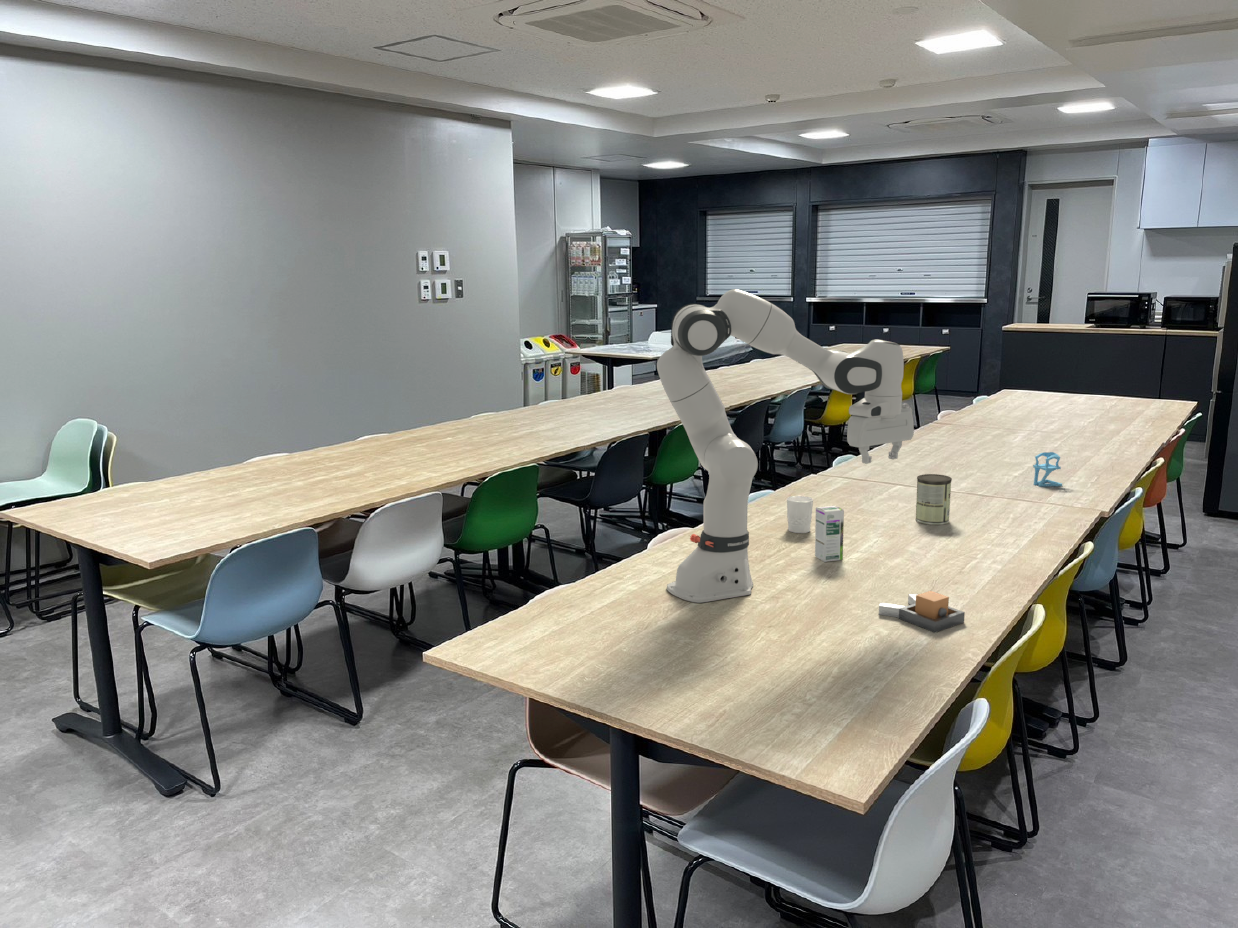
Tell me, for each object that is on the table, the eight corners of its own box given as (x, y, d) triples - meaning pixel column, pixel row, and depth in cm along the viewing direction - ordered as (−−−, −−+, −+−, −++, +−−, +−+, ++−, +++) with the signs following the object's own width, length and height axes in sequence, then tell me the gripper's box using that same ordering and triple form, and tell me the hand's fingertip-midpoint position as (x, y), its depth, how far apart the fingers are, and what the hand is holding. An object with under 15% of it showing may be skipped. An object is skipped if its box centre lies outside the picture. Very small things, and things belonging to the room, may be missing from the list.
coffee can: (911, 516, 291) (913, 473, 288) (944, 516, 290) (947, 473, 287) (919, 525, 281) (921, 481, 278) (953, 525, 280) (955, 481, 277)
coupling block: (935, 628, 201) (937, 602, 200) (911, 618, 207) (913, 594, 205) (950, 623, 204) (951, 597, 202) (926, 614, 209) (927, 589, 208)
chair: (1028, 483, 332) (1030, 451, 329) (1046, 481, 334) (1049, 449, 332) (1043, 488, 325) (1046, 455, 322) (1062, 486, 327) (1065, 453, 325)
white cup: (808, 526, 282) (809, 495, 280) (815, 533, 274) (815, 501, 272) (783, 527, 282) (784, 496, 280) (789, 534, 274) (789, 502, 272)
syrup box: (824, 562, 247) (825, 511, 244) (814, 556, 253) (815, 506, 250) (843, 560, 249) (844, 509, 246) (832, 554, 254) (834, 504, 251)
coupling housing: (929, 634, 197) (930, 623, 197) (874, 613, 210) (875, 602, 210) (968, 620, 205) (969, 610, 204) (913, 601, 217) (913, 591, 217)
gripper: (901, 401, 230) (898, 454, 233) (844, 407, 220) (841, 463, 223) (921, 404, 225) (918, 458, 228) (863, 411, 214) (860, 467, 217)
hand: (879, 461), depth 225 cm, fingers open, 8 cm apart
